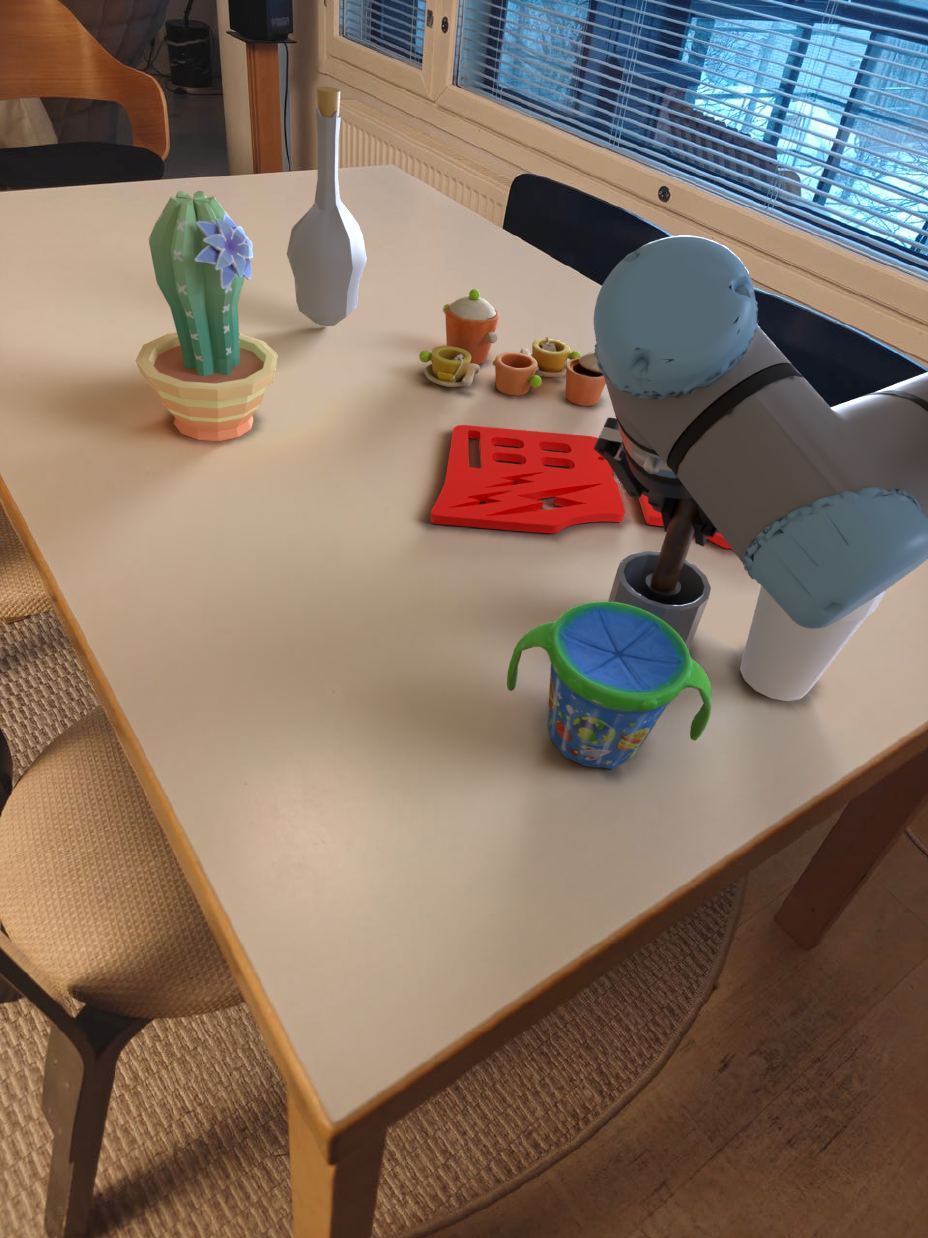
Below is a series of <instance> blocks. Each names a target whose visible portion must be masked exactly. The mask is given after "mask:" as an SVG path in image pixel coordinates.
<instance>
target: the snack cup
mask: <svg viewBox="0 0 928 1238" xmlns="http://www.w3.org/2000/svg"><path fill="white" fill-rule="evenodd" d="M537 647H539V648H541V649H543V650H545V652H546V653H547V655H548V657H549V660H550V676H549V677H550V678H549V688H548V703H547V704H548V713H547V727H548V733H549V735H550V738H551V741H552V743H553V744H554V746H555V747H556V748H557V749H558V750H559V752H560V754H561V756H563V757H564V758H566V759H568V760H571V761H574V762H576V763H578V764H580V765H582V766H584V767H590V768H604V769H607V770H614V769H616V768H617V767H618V766H621V765H622V764H623V763H626V762H628V761H629V760H630V759H631V758H633V757H634V756H635V755H636V754H637V753H638V752H639V750H640V748H641V747H642V745H643V744H644V742H645V741H646V739H647V738H648V736H649V735H650V733H651V731H652V730H653V729H654V727H655V726H656V724H657V722H658V721H659V719H660V718H661V716H662V714H663V713H664V711H665V709H666V707H667V706H668V705H669V704H671V703H672V702H673V701H674V700H675V699H676V698H677V697H678V696H679V694H680V693H681V692H682V691H683V690H685V689H686V688H689V689H690V688H692V689H696V690H698V693H699V696H700V697H701V700H702V705H701V706H700V709H699V710H698V712H697V713H696V714H695V715H694V717H693V718H692V721H691V723H690V730H689V737H690V739H691V740H692V741H697V740H698V739H699V738H700V737H701V736H702V734H703V732H704V731H705V729H706V727H707V725H708V722H709V721H710V720H709V719H710V716H711V711H712V697H713V691H712V686H711V681H710V679H709V676H708V675H707V672H706V671H705V670H704V668H703V667H702V666H701V664H700V663H698V662H697V661H695V660H694V659H693V658H692V657H691V654H690V650H689V651H688V648H687V646H686V644H685V643H684V641H683V639H682V638H681V637H680V635H679V634H678V633H677V632H676V631H675V630H674V629H673V628H672V627H671V626H670V625H668V624H667V623H666V622H664V621H663V620H662V619H660V618H658V617H657V616H655V615H653V614H651V613H649V612H648V611H645V610H643V609H640V608H637V607H634V606H631V605H627V604H623V603H618V602H608V601H606V600H605V601H591V602H590V601H589V602H586V603H581V604H578V605H574V606H573V607H571V608H568V609H567V610H566V611H564V612H563V613H562V614H561V615H560V616H559V617H558V618H557V619H556V620H555V621H551V622H546V623H543V624H540V625H537V626H535V627H534V628H530V629H529V630H528V631H527V632H526V633H525V634H523V636H522V637H520V639H519V640H518V642H517V643H516V645H515V647H514V649H513V652H512V655H511V659H510V661H509V665H508V669H507V674H506V687H507V690H508V691H509V692H512V691H514V690H515V688H516V686H517V680H518V673H519V664H520V660H521V657H522V652H523V651H526V650H528V649H532V648H537Z"/></svg>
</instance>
